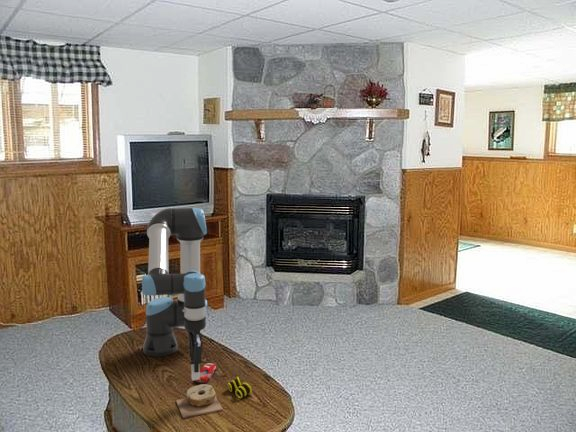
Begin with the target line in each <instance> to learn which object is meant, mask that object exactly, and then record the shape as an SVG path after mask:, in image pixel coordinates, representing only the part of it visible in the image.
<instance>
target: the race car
mask: <svg viewBox="0 0 576 432" xmlns="http://www.w3.org/2000/svg"><path fill="white" fill-rule="evenodd" d="M216 372H217V366H216V364H215V363H209V362H208V363H205V364H204V365H203V366H202V367H201V368H200V379H199V380H195V382H196V383H199V384H208V383H209V381H210V380H211V379H212V377H213V376H214V375H215V373H216Z"/></svg>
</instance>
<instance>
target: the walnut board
mask: <svg viewBox="0 0 576 432" xmlns="http://www.w3.org/2000/svg"><path fill="white" fill-rule="evenodd" d="M175 402H176V405H177V407H178V409H179V412H180V416H181V417H182V419H189V418H193V417H199V416H203V415H207V414H212V413H217V412H221V411H223V410H224V409H223V407H222V405H221V403H220V401H219V399H218V398H217V396H216V395H215V400H214V401H213V402H212V403H211V404H208V405H204V406H199V407H198V406H194V405H191V404H190V403H189V402H188V401H187V398H186V397H185V398H180V399H176V400H175Z"/></svg>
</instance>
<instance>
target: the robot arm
mask: <svg viewBox="0 0 576 432" xmlns="http://www.w3.org/2000/svg"><path fill="white" fill-rule="evenodd" d="M207 230H208V229H207V223H206V216H205V212H204V209H202V208H199V207H180V208H179V207H178V208H177V207H176V208H175V207H174V208H171V207H169V208H168V207H167V208H164V209H162V210H160V211H159V212H157V213H156V214H154V216H153V217H152V218H151V219H150V221H149V222H148V224H147V228H146V235H147V237H148V239H149V240H148V241H149V242H148V243H149V244H148V264H147V265H148V266H147V271H148V272H147V274H145V275H143V276H142V277H141V291H142V294H143V296H153V297H154V296H155V297H156V296H162V297H158V298H154V299H152V300H150V301H149V302H148V303H147V304H146V306H145V308H146V310H145V316H146V317H145V319H146V336H145V339H144V342H143V344H142V345H143V346H142V351H143V354H144V355H146V356H148V357H155V358H156V357H159V358H161V357H166V356H170V355H172V354H174V353H175V352H177V351H178V341H177V339H176V336H175V333H174V328H184V329H185V330H187V333H188V334H187V335H188V347H189V358H190V365H191V367H190V370H191V371H190V372H191V381H196V380H199V379H200V370H201V368H200V367H201V364H202V358H203V357H202V356H203V355H202V354H203V353H202V352H203V344H204V341H203V340H202V338H203V335H202V332H201V331H202V330H204V329H205V328H206V326H207V325H206V324H207V322H206V319H207V315H208V314H207V313H208V300H207V299H206V286H207V285H206V284H207V283H206V277H205V275H204V274H202V273H201V242H202V241H203V240H204V236H206V235H207V233H208V231H207ZM171 236H176V240H177V241H178V242H179V243H180V247H179V248H180V273H169V272H170V271H169V269H170V268H169V264H170V263H169V238H170V237H171ZM164 295H165V296H164ZM167 295H169V296H170V295H178V296H177V300H174V299H173V298H172V297H167Z"/></svg>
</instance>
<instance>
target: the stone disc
mask: <svg viewBox="0 0 576 432" xmlns="http://www.w3.org/2000/svg"><path fill="white" fill-rule="evenodd" d="M216 395H217V393H216V391H215V389H214V387H213V385H211V384H208V383H200V384H198V385H194V386H191V387H190V388H188V389H187V391H186V393H185V398H187V401H188V402H189V403H190V404H191V405H194V406H198V407H199V406H204V405H208V404H211V403H212V402H213V401H214V400H215V396H216Z"/></svg>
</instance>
